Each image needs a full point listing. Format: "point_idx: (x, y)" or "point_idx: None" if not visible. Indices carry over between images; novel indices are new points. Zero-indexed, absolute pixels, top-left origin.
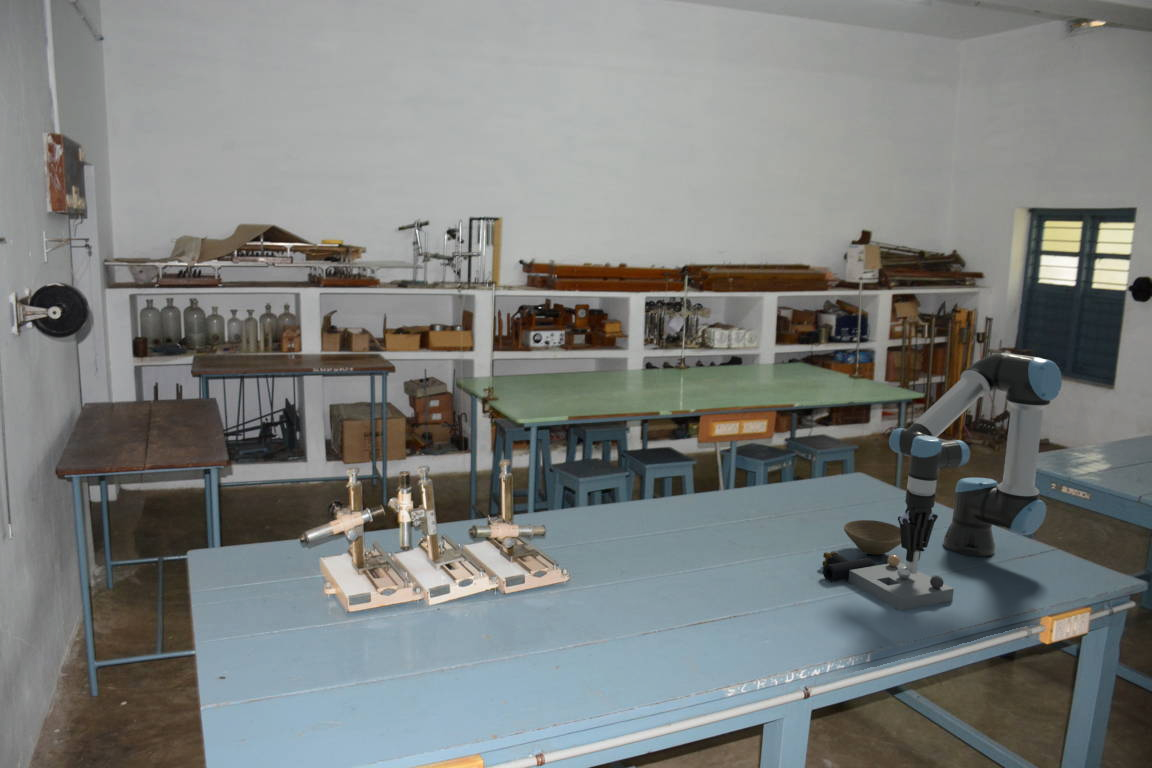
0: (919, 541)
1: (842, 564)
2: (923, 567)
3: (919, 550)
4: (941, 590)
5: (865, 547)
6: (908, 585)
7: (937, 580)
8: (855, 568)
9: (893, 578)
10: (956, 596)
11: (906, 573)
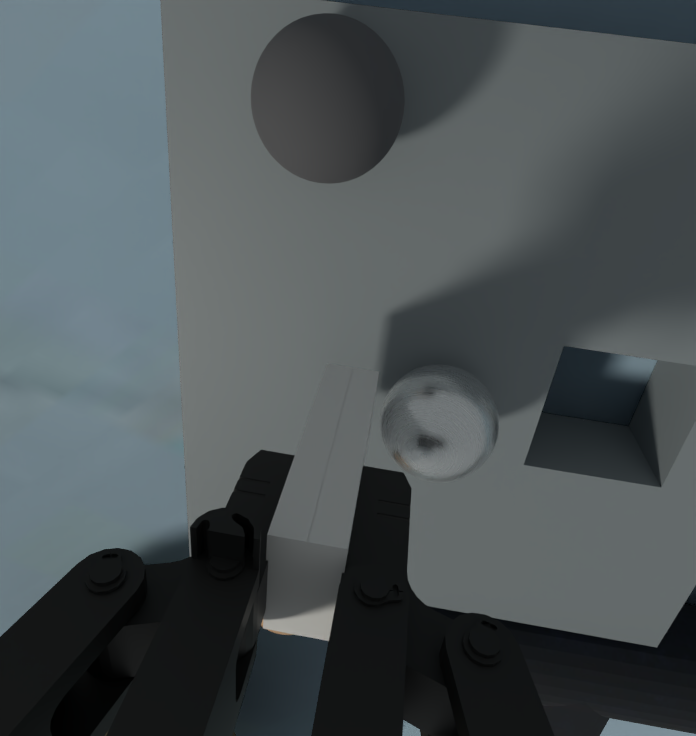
0: (218, 703)
1: (674, 707)
2: (2, 476)
3: (247, 550)
4: (343, 12)
5: (233, 733)
6: (545, 280)
7: (372, 58)
8: (587, 641)
9: (514, 432)
10: (105, 45)
11: (472, 393)
